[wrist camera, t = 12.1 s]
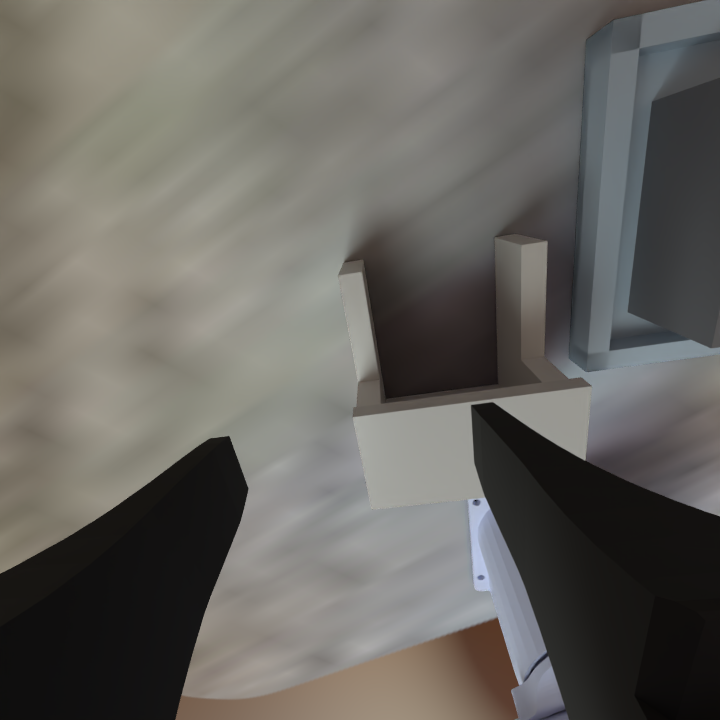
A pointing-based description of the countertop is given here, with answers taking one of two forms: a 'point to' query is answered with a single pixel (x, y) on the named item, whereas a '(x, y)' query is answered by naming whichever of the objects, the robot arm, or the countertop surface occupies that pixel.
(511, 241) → the bay
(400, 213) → the countertop surface
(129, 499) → the robot arm
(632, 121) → the tray
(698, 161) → the gray white block
